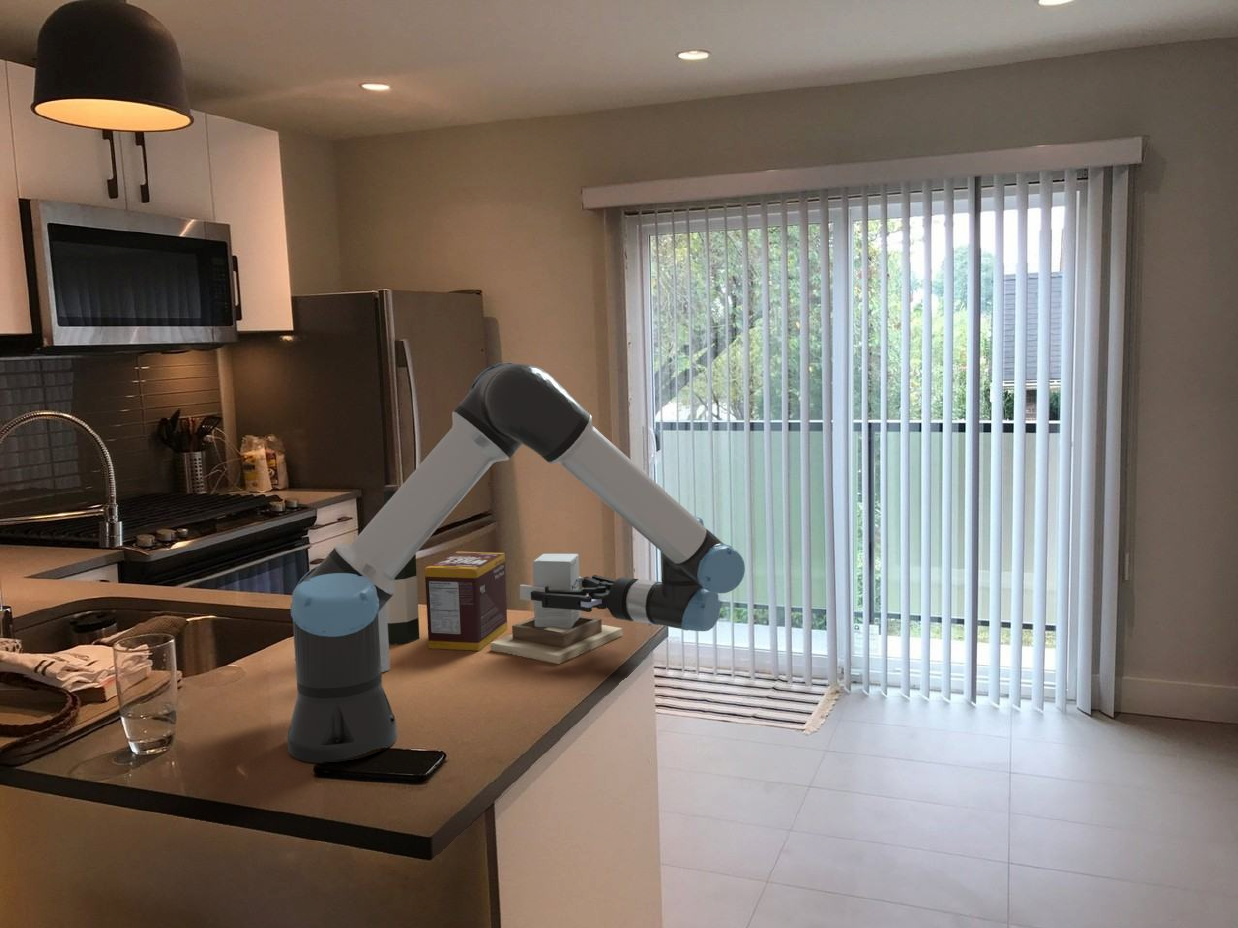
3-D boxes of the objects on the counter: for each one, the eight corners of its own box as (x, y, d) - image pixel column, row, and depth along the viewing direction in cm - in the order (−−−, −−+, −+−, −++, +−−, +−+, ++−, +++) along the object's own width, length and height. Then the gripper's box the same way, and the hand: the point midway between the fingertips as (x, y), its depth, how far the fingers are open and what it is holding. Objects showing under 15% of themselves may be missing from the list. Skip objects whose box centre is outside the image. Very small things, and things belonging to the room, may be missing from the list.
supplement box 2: (572, 628, 184) (570, 561, 183) (533, 627, 186) (531, 560, 184) (581, 617, 191) (579, 553, 190) (544, 616, 193) (542, 552, 191)
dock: (558, 664, 176) (558, 642, 176) (490, 650, 185) (489, 629, 185) (622, 635, 193) (621, 615, 192) (556, 624, 202) (556, 605, 201)
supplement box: (508, 628, 200) (505, 551, 198) (479, 651, 185) (475, 569, 183) (460, 626, 202) (457, 550, 201) (427, 648, 188) (423, 567, 186)
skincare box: (391, 670, 175) (387, 603, 174) (369, 676, 172) (365, 608, 171) (373, 662, 180) (370, 597, 178) (352, 668, 177) (348, 602, 175)
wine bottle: (426, 632, 198) (419, 482, 195) (412, 644, 190) (404, 488, 187) (386, 631, 199) (378, 482, 196) (370, 644, 191) (361, 489, 188)
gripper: (601, 636, 169) (500, 619, 182) (669, 606, 187) (573, 592, 200) (600, 593, 168) (499, 578, 181) (668, 567, 186) (572, 555, 199)
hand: (538, 586), depth 190 cm, fingers closed on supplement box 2, 9 cm apart
